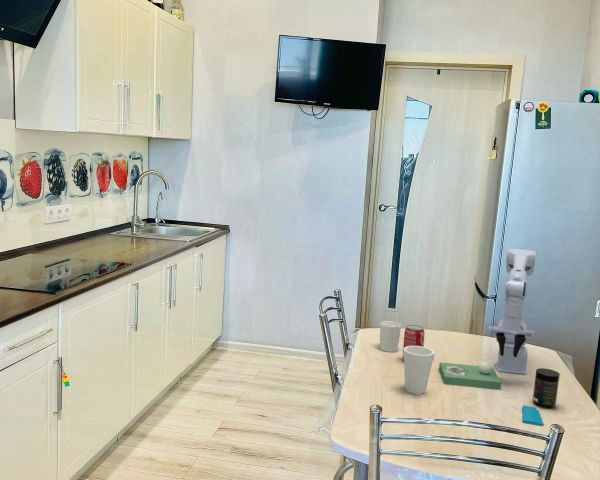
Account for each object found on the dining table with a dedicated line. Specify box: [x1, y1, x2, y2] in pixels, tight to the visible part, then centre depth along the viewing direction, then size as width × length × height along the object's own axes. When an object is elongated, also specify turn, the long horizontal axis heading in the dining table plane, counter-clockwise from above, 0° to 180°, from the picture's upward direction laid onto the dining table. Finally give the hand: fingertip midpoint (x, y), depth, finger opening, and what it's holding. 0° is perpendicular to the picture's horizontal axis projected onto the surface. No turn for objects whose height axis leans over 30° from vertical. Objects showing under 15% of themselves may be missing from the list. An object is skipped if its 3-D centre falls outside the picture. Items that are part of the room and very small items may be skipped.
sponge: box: [521, 404, 545, 427], centre depth 171 cm, size 2×12×6 cm
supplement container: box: [532, 367, 561, 410], centre depth 180 cm, size 7×7×10 cm
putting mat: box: [438, 361, 502, 391], centre depth 198 cm, size 18×14×2 cm
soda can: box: [402, 324, 425, 361], centre depth 211 cm, size 7×7×13 cm
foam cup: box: [402, 346, 435, 395], centre depth 185 cm, size 10×9×13 cm
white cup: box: [379, 320, 402, 353], centre depth 224 cm, size 8×8×10 cm
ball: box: [478, 361, 492, 374], centre depth 197 cm, size 4×4×4 cm
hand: (508, 355), depth 196 cm, fingers open, 4 cm apart
